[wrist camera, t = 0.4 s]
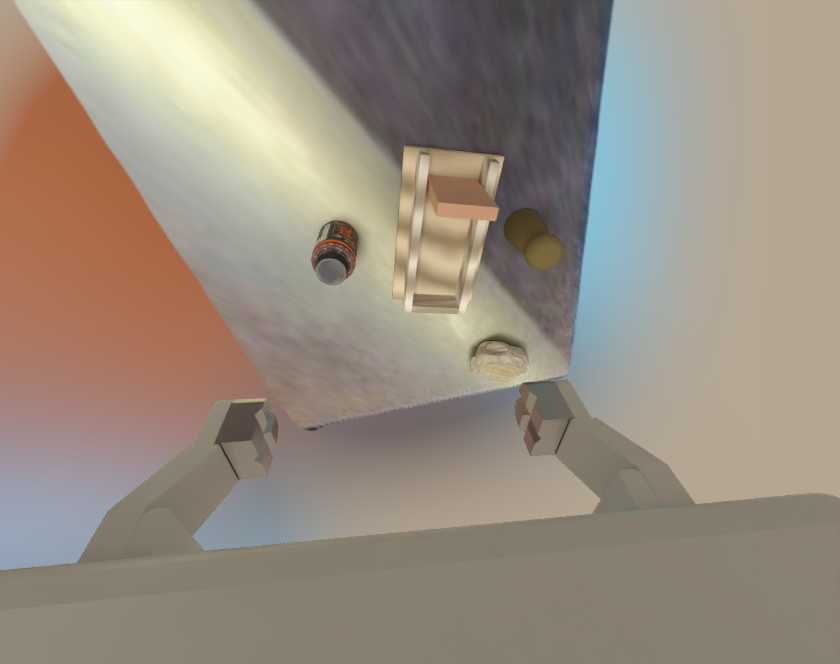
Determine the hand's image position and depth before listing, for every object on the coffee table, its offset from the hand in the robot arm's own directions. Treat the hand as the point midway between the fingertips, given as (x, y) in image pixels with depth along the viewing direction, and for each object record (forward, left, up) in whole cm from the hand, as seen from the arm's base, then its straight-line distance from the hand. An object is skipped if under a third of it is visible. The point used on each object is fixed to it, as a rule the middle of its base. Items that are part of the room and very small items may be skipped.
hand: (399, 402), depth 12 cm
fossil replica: (+36, +25, -46) cm, 64 cm away
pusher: (+4, +10, -45) cm, 46 cm away
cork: (+10, +23, -46) cm, 53 cm away
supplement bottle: (+14, -6, -46) cm, 49 cm away
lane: (+12, +10, -46) cm, 48 cm away
